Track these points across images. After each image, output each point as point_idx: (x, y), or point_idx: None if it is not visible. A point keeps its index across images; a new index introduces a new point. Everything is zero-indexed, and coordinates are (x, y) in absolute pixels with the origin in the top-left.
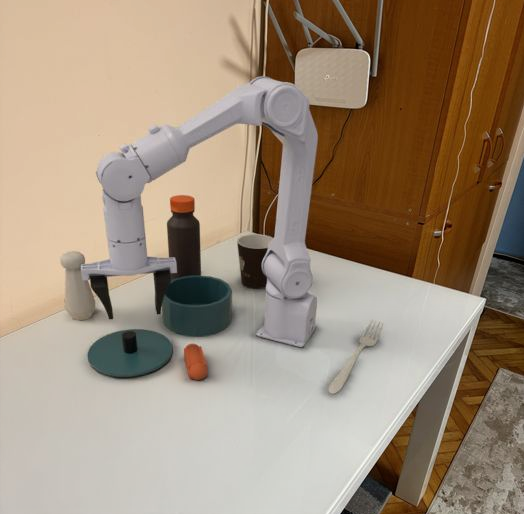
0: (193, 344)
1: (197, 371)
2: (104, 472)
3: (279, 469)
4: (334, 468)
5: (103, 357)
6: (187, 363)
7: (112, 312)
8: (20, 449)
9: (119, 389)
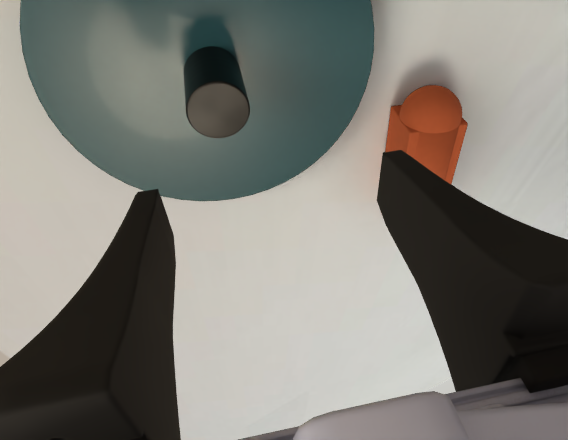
0: (448, 129)
1: None
2: (205, 369)
3: (439, 346)
4: None
5: (113, 116)
6: None
7: (170, 247)
8: None
9: (197, 221)
